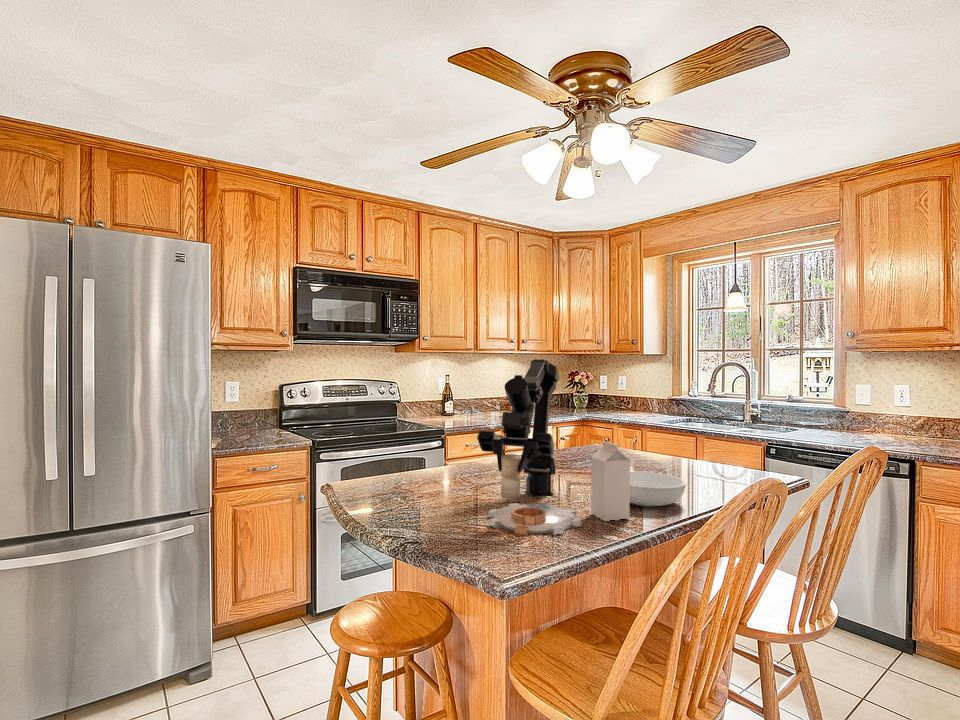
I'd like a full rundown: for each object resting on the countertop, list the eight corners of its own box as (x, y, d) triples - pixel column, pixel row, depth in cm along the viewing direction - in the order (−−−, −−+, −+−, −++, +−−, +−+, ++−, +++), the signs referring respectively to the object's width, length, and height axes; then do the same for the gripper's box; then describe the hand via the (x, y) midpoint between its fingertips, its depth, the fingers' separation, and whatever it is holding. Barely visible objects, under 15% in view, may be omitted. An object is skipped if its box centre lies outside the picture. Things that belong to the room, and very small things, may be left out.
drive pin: (510, 493, 135) (510, 453, 135) (523, 497, 132) (523, 456, 132) (497, 496, 132) (497, 455, 132) (510, 500, 129) (510, 458, 129)
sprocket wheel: (557, 505, 150) (557, 492, 150) (599, 531, 128) (599, 516, 128) (476, 511, 144) (476, 498, 144) (504, 540, 121) (504, 524, 121)
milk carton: (604, 522, 135) (604, 445, 135) (590, 514, 142) (591, 441, 142) (629, 520, 137) (629, 444, 137) (615, 512, 144) (615, 440, 144)
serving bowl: (658, 518, 139) (658, 491, 139) (592, 501, 155) (592, 477, 155) (700, 504, 152) (700, 479, 152) (635, 490, 168) (636, 468, 168)
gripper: (479, 398, 139) (464, 448, 128) (552, 400, 133) (542, 453, 122) (488, 426, 146) (475, 475, 136) (557, 428, 140) (549, 480, 130)
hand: (509, 470), depth 131 cm, fingers closed on drive pin, 4 cm apart
